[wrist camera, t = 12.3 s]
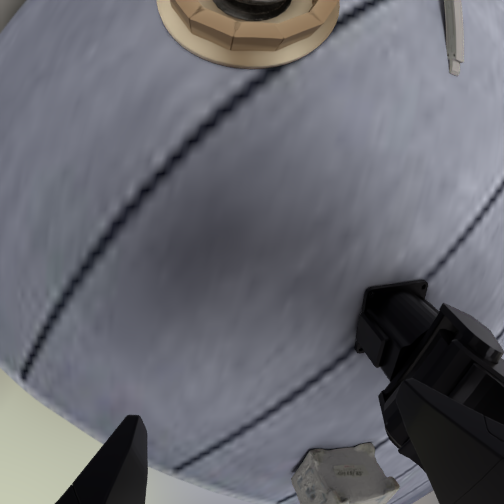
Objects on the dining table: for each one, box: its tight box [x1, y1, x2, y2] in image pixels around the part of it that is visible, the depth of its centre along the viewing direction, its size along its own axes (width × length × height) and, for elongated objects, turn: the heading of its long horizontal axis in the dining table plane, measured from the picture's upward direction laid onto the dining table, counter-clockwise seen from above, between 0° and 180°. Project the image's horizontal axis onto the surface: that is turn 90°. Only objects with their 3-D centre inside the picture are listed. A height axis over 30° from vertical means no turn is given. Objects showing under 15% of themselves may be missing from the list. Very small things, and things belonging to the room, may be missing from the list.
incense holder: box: [291, 443, 400, 504], centre depth 27 cm, size 10×8×10 cm
